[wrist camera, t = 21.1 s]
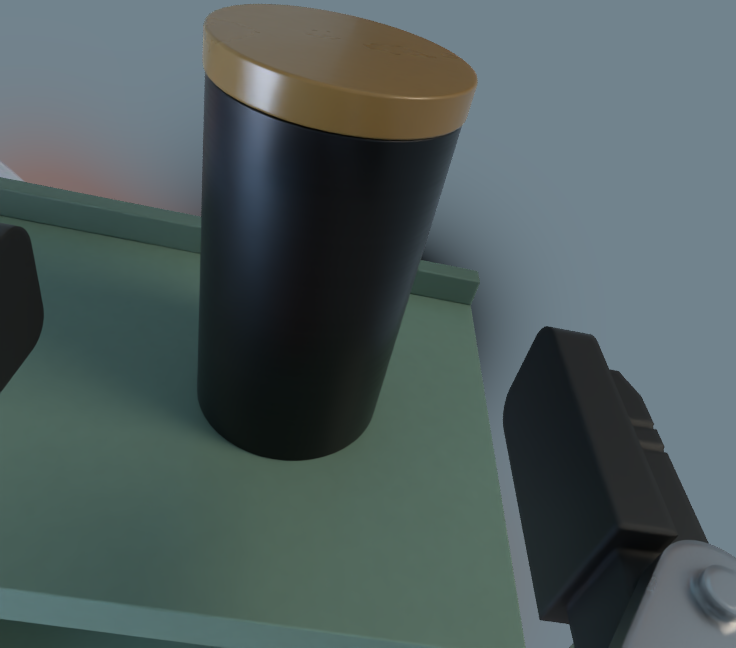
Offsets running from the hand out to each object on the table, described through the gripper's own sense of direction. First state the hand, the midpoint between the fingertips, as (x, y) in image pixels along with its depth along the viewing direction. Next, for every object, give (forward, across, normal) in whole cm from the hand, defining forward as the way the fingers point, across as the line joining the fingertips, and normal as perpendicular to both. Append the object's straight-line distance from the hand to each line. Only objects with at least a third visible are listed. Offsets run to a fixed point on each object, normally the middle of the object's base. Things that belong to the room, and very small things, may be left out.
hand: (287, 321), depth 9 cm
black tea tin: (+5, 0, +7) cm, 9 cm away
